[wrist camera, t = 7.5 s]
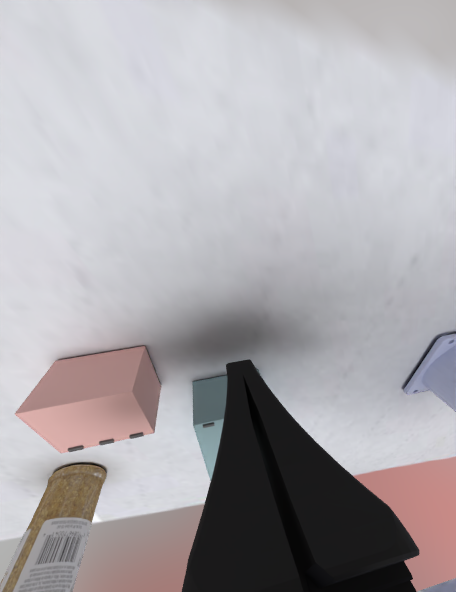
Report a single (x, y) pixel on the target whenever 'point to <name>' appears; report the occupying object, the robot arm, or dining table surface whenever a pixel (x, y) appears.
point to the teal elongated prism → (209, 416)
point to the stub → (94, 400)
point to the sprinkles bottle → (56, 533)
